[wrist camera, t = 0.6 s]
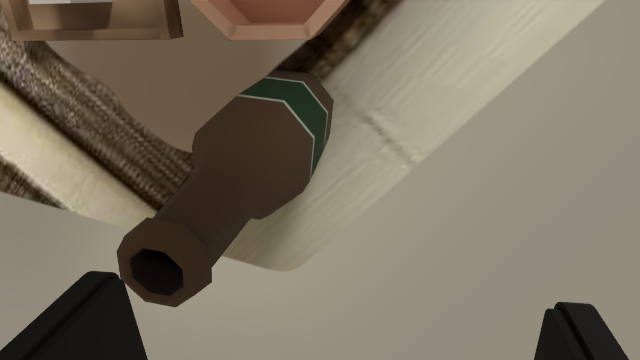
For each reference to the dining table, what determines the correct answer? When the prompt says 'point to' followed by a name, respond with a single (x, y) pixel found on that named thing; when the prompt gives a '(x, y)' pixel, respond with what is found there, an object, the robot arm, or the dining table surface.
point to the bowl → (270, 17)
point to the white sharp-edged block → (65, 1)
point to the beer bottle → (229, 184)
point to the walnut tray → (93, 20)
